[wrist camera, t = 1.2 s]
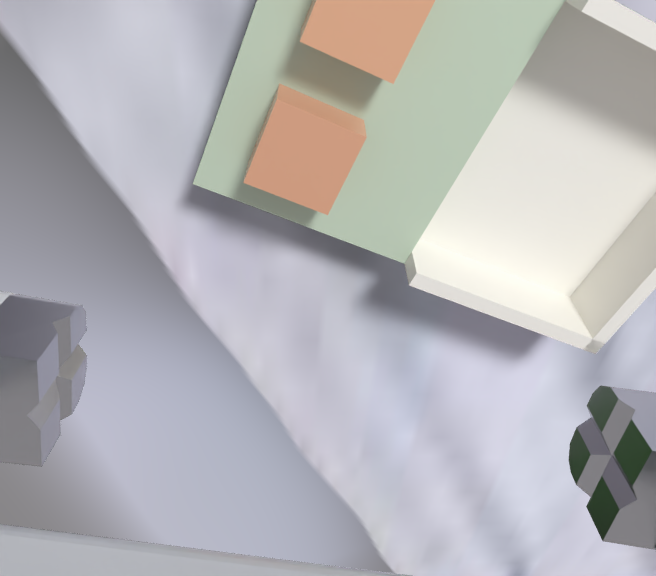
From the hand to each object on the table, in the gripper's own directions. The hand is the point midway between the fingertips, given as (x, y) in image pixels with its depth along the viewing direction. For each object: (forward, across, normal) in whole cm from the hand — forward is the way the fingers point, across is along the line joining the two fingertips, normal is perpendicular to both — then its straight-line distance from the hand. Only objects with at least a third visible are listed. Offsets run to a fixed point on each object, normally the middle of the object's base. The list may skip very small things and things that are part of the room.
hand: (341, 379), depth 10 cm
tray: (+30, -15, +3) cm, 34 cm away
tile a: (+26, -1, -4) cm, 26 cm away
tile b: (+27, +1, +4) cm, 27 cm away
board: (+30, -2, 0) cm, 30 cm away
